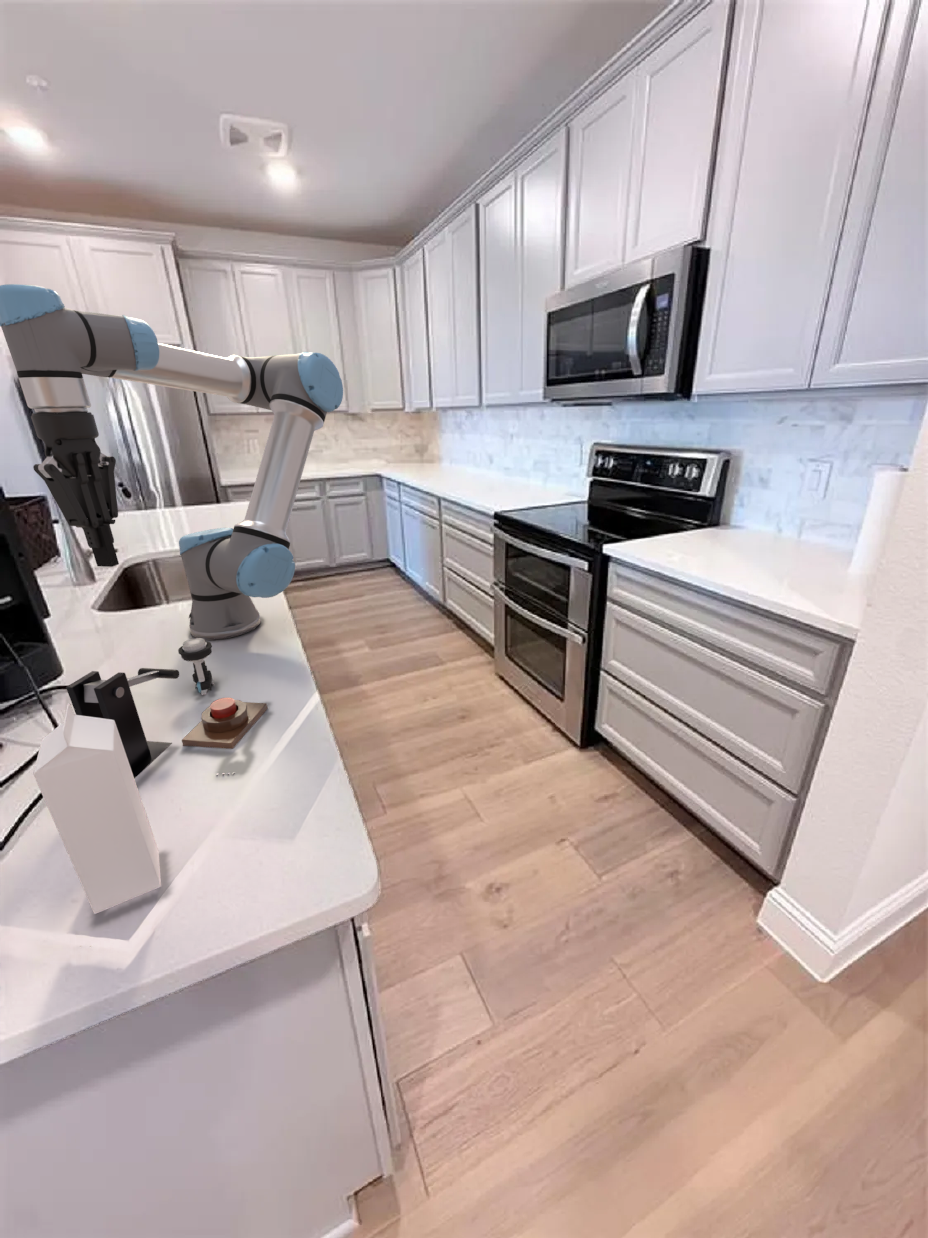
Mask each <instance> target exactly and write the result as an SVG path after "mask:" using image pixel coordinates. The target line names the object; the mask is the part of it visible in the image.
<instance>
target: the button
mask: <svg viewBox="0 0 928 1238" xmlns="http://www.w3.org/2000/svg"><path fill="white" fill-rule="evenodd" d="M235 700H236V699H234V698H232V697H221V698H218V699H216V700H213V701H212V702H211V703H210V705H209V706H210V710H211V714H212V717H213V718H218V719H221V718H226V717H229V716H231V715H233V714H235V713H236V711H237V708H236V704H235Z"/></svg>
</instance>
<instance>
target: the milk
mask: <svg viewBox="0 0 928 1238" xmlns="http://www.w3.org/2000/svg"><path fill="white" fill-rule="evenodd" d="M72 707H73V706H72V704H71V703H70V702H67V705H66V710H65V715H64V718H63V719H64V720H63V722H62V723H60V724H59V725H58V726H57V727H55V728H54V729H53V730H52V731H50V732H49V733H48V734H47V735H45V736H44V737H42V739H41V742H40V746H39V749H38V753H37V757H36V760H35V765H34V769H33V773H32V775H33V777H34V779H35V782H36V784H37V786H38V788H39V791H40V793H41V796H42V798H43V800H44V802H45V805H46V807H47V809H48V811H49V814H50V816H51V818H52V821H53V823H54V825H55V828H56V830H57V832H58V835H59V837H60V839H61V841H62V844H63V846H64V848H65V850H66V852H67V855H68V858H69V861H70V862H71V865H72V866H73V869H74V871H75V873H76V876H77V878H78V880H79V882H80V884H81V887H82V890H83V891H84V894H85V896H86V899H87V901H88V903H89V905H90V908H91V910H92V912H93V915H96V914H98V913H101V912H104V911H106V910H108V909H111V908H113V907H115V906H118V905H121V904H123V903H125V902H127V901H130V900H132V899H135V898H137V897H140V896H142V895H145V894H147V893H150V892H152V891H154V890H156V889H159V888H161V887H162V878H161V866H160V865H161V864H160V852H159V851H160V850H159V846H158V844H157V841H156V838H155V835H154V833H153V829H152V827H151V823H150V820H149V818H148V815H147V812H146V809H145V806H144V803H143V801H142V797H141V794H140V791H139V789H138V786H137V785H138V784H137V783H136V780H135V779H136V778H135V779H134V776H133V773H132V770H131V767H130V764H129V762H128V759H127V756H126V753H125V750H124V747H123V744H122V741H121V738H120V735H119V732H118V729H117V726H116V723H115V721H114V720H111V719H104V718H96V717H89V716H81V715H76V713H75V711H73V710H74V709H73V708H72Z"/></svg>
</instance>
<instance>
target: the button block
mask: <svg viewBox="0 0 928 1238" xmlns="http://www.w3.org/2000/svg"><path fill="white" fill-rule="evenodd" d="M234 700H235V704H236V708H237V711H236V713H235V714H233V715H231V716H229V717H226V718H221V719H218V718H213V717H212V714H211V710H210V705H209V706H208V707H207V708H205V709H204V710H203V711H202V712H201V717H200V720H201V721H199V723H197V724H196V726H194V727H193V728H192V729H191V730H190V731H189V732H188V733H187V734H186V735H185V736H184V737H183V738H182V739H181V743H182V746H184V747H197V748H198V747H199V748H211V749H225V750H226V749H227V750H233V749H234V748H235V747H236V746H237V745H238V743H240V741H241V740H242V739H243V738H244V737H245V735H246V734H247V733H248V732H249V731H250V730H251V729H252V727H253V726H254V725H255V724H256V722H258V721H259V720H260V718H261V717H262V716H263V715H264V713H266V712H267V710H268V704H267V702H250V701H249V702H248V701H242V700H239V699H234Z"/></svg>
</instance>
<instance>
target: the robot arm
mask: <svg viewBox="0 0 928 1238" xmlns="http://www.w3.org/2000/svg"><path fill="white" fill-rule="evenodd" d="M0 327H1V330H2V333H3V336H4V338H5V342H6V345H7V347H8V351H9V353H10V357H11V359H12V362H13V365H14V369H15V370H16V375H17V377H18V382H19V385H20V387H21V390H22V394H23V396H24V400H25V402H26V405H27V407H28V408H29V409H31V410H32V409H33V410H34V413H33V412H32V413H31V415H30V418H31V421H32V424H33V428H34V431H35V434H36V437H37V438H38V439H39V440H41V441H42V442H43V443H44V455H45V459H44V460H43V461H42V462H41V463H35V464H34V465H33V467H32V469H33V471H34V472H35V473H36V474H37V475H38V476H39V477H40V478H41V479H42V480H43V481H44V483H45V485H46V487H47V488H48V490H49V492H50V494H51V496H52V497H53V499H54V501H55V503H56V505H57V506H58V509H59V510H60V511H61V513H62V516H63V517H64V519H65V521H66V523H67V524H68V525H69V526H71V527H76V528H80V529H82V531H83V533H84V537H85V539H86V543H87V546H88V547H89V548H90V549H91V551H92V554H93V557H94V560H95V563H96V567H103V568H105V567H106V568H107V567H108V568H112V567H116V566H118V565H120V562H119V559H118V556H117V552H116V549H115V546H114V543H115V538H114V535H113V531H112V528H111V525H114V524H116V518H118V517H119V510H118V509H119V508H118V499H117V498H118V497H117V489H116V477H115V469H116V464H117V459H116V458H115V456H111V455H110V456H109V455H108V456H107V455H106V454H104V453H102V452H101V451H102V450H101V448H100V446H99V445H98V443H97V442H96V439H97V438H99V435H100V434H99V430H98V427H97V426H98V425H97V422H96V419H95V415H94V414H92V412H91V411H89V408H91V407H92V403H91V401H90V396H89V393H88V390H87V387H86V383H85V379H84V375H88V376H92V377H93V376H94V377H100V378H110V379H114V380H115V379H116V380H122V381H127V382H135V383H141V384H146V385H154V386H160V387H167V388H172V389H176V390H177V389H179V390H185V391H189V392H190V391H191V392H197V393H204V394H209V395H216V396H222V397H226V398H227V399H228V400H229V401H231V402H232V403H235V404H241V405H245V406H251V407H254V408H255V407H256V408H258V409H259V408H260V409H264V410H269V411H271V412H272V413H273V419H272V422H271V426H270V430H269V432H268V437H267V439H266V443H265V446H264V449H263V450H264V451H263V453H262V458H261V461H260V464H259V467H258V471H257V474H256V479H255V481H254V485H253V489H252V492H251V496H250V499H249V502H248V505H247V510H246V512H245V516H244V519H243V520H242V521H240V522H238V523H236V524H234V525H233V528H232V527H220V528H219V527H218V528H212V529H206V530H200V531H196V532H192V533H188V534H185V535H182V536H181V537H180V538H179V540H178V546H179V555H180V557H181V561H182V565H183V569H184V573H185V577H186V581H187V585H188V589H189V593H190V597H191V608H190V613H189V615H188V619H189V626H188V627H189V630H190V631H189V632H190V634H191V636H193V637H194V638H203V639H204V640H205V641H209V640H213V641H214V640H224V639H225V640H226V639H230V638H234V637H238V636H242V635H244V634H247V633H250V632H251V631H254V630H255V629H256V628H257V627H258V626H259V625H260V624H261V616H260V613H259V610H258V609H257V607H256V606H255V604H254V601H253V600H252V599H251V598H262V599H269V598H273V597H276V596H278V595H279V594H281V593H283V592H284V591H285V590H286V589H287V588H288V587H289V586H290V584H291V582H292V581H293V578H294V575H295V572H296V571H295V570H296V562H295V561H294V555H293V553H292V552H291V550H290V546H291V540H290V538H289V537H288V535H287V530H288V526H289V522H290V519H291V515H292V511H293V508H294V505H295V501H296V497H297V494H298V491H299V486H300V483H301V479H302V475H303V472H304V469H305V465H306V462H307V458H308V454H309V451H310V448H311V444H312V441H313V438H314V437H313V436H314V434H315V431H318V430H320V429H322V428H323V427H324V425H325V421H326V417H327V414H328V413H331V412H334V411H336V410H337V409H339V408H340V406H341V404H342V402H343V399H344V386H343V381H342V378H341V376H340V375H341V374H340V372H339V370H338V368H337V366H336V364H335V363H334V362H333V361H332V359H330V358H329V357H328V356H326V354H323V353H321V352H310V351H303V352H300V353H289V354H278V355H276V354H275V355H267V356H266V355H265V356H256V357H255V356H254V357H253V356H251V357H250V356H249V357H248V356H241V355H237V354H231V355H229V356H227V357H223V356H218V355H214V354H209V353H205V352H201V351H196V350H192V349H187V348H183V347H179V346H174V345H170V344H166V343H161V342H158V338H157V336H156V333H155V331H154V329H153V328H152V327H151V326H150V325H149V324H148V322H146V321H144V320H143V319H140V318H135V317H129V316H126V315H125V314H122V315H116V314H108V313H99V312H90V311H81V310H76V309H71V308H67V307H65V304H64V303H63V300H62V298H61V296H60V294H59V293H58V292H56V291H55V290H54V289H51V288H45V287H44V286H39V285H32V284H20V283H19V284H18V283H17V284H16V283H8V284H6V283H5V284H1V285H0Z"/></svg>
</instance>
